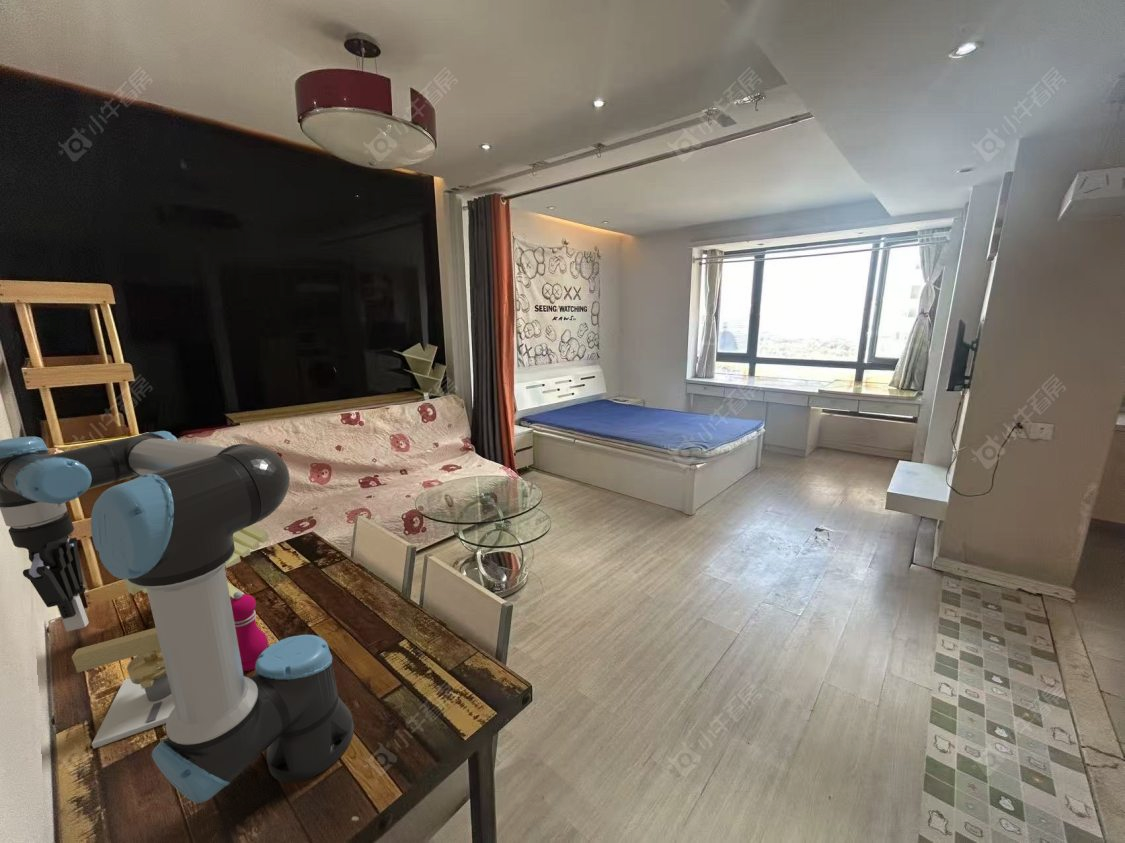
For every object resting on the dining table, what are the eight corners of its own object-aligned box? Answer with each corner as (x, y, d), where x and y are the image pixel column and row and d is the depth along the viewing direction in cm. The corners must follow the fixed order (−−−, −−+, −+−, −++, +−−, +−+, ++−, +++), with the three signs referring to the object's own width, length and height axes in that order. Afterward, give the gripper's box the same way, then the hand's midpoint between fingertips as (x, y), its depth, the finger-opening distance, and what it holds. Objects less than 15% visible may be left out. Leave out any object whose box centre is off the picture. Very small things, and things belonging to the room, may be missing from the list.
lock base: (204, 709, 97) (197, 682, 95) (93, 748, 89) (82, 720, 87) (219, 654, 112) (213, 630, 111) (125, 683, 104) (117, 658, 102)
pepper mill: (253, 674, 106) (236, 603, 101) (228, 670, 107) (210, 600, 102) (278, 652, 113) (262, 584, 108) (254, 648, 114) (238, 581, 109)
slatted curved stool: (252, 567, 150) (241, 520, 145) (278, 581, 142) (267, 532, 137) (137, 621, 125) (119, 566, 120) (159, 642, 117) (142, 584, 112)
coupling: (211, 667, 99) (201, 631, 96) (75, 710, 89) (60, 672, 86) (220, 635, 109) (211, 602, 106) (99, 671, 98) (86, 635, 96)
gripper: (47, 529, 78) (87, 641, 84) (83, 502, 89) (116, 602, 95) (-15, 540, 75) (32, 656, 81) (31, 510, 86) (68, 613, 92)
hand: (77, 626), depth 88 cm, fingers closed
